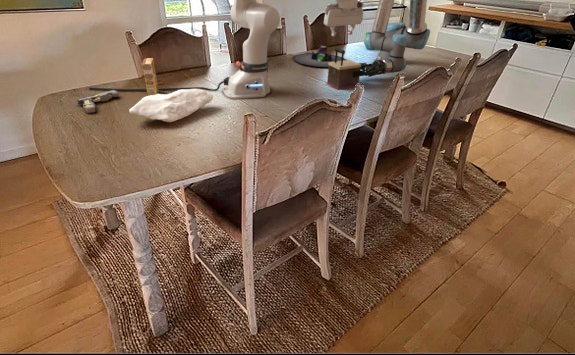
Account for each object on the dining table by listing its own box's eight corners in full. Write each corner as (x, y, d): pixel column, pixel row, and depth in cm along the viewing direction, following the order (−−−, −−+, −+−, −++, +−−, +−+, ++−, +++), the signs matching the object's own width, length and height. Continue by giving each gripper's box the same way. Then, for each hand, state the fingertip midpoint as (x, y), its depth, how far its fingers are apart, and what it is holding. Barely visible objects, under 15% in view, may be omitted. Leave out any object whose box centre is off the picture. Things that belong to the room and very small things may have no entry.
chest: (337, 89, 183) (339, 69, 177) (327, 83, 190) (328, 64, 184) (358, 86, 188) (360, 67, 183) (347, 80, 195) (349, 62, 190)
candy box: (157, 97, 164) (152, 63, 155) (147, 98, 163) (141, 63, 155) (158, 91, 171) (153, 57, 163) (149, 91, 170) (143, 58, 162)
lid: (339, 69, 177) (341, 51, 173) (328, 64, 184) (329, 47, 180) (360, 67, 183) (363, 49, 178) (349, 62, 190) (351, 44, 185)
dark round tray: (359, 62, 224) (361, 47, 219) (315, 70, 207) (315, 53, 202) (323, 53, 249) (324, 39, 244) (281, 59, 231) (281, 44, 227)
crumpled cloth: (117, 110, 146) (113, 90, 140) (195, 92, 166) (194, 73, 160) (143, 139, 134) (140, 118, 128) (223, 116, 154) (224, 96, 148)
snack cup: (373, 45, 267) (376, 31, 261) (384, 49, 259) (386, 34, 254) (358, 48, 259) (360, 32, 254) (368, 51, 252) (370, 35, 246)
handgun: (128, 97, 156) (111, 87, 164) (86, 107, 144) (70, 97, 152) (129, 103, 157) (113, 94, 165) (88, 114, 146) (72, 103, 154)
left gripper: (330, 5, 160) (327, 38, 167) (366, 3, 168) (362, 34, 176) (322, 3, 164) (320, 35, 172) (358, 1, 173) (354, 32, 180)
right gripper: (394, 79, 190) (360, 85, 180) (366, 68, 206) (334, 72, 196) (397, 65, 186) (362, 70, 176) (369, 54, 202) (336, 58, 192)
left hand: (341, 35), depth 174 cm, fingers open, 8 cm apart
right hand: (347, 71), depth 186 cm, fingers closed on chest, 10 cm apart
